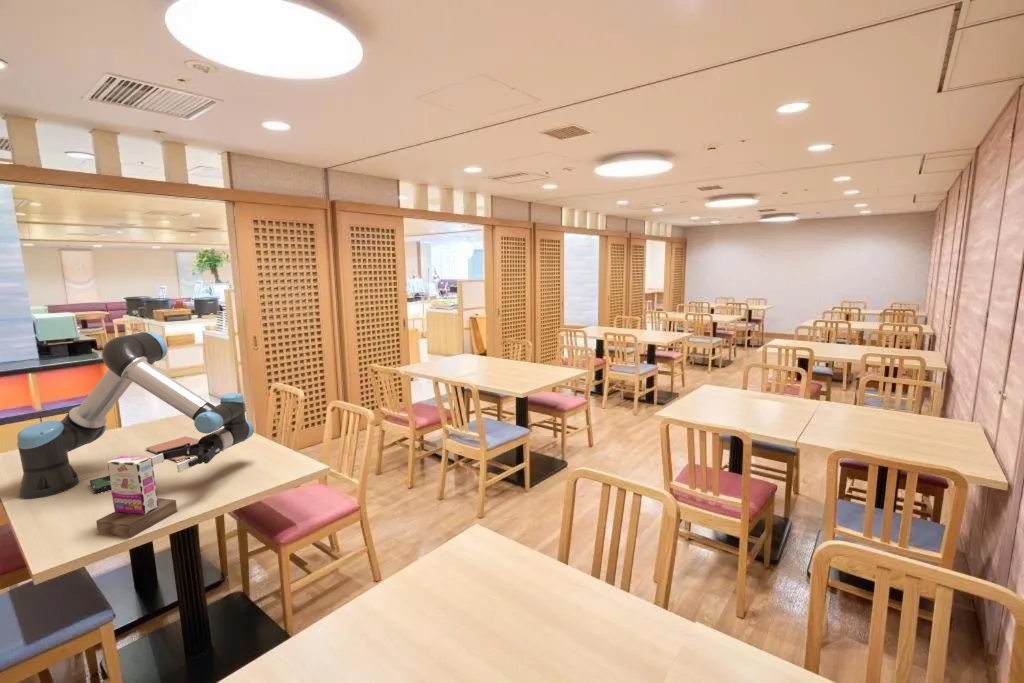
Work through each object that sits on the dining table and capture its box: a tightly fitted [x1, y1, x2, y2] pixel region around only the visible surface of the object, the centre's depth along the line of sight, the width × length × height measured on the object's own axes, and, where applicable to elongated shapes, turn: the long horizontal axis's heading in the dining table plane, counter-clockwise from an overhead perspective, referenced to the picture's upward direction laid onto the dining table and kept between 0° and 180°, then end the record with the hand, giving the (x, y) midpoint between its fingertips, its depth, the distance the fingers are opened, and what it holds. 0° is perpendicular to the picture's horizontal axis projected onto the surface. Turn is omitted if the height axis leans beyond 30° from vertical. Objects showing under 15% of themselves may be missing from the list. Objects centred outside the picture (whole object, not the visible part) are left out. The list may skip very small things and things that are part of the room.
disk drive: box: [89, 475, 112, 495], centre depth 171 cm, size 10×3×15 cm
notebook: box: [145, 436, 200, 462], centre depth 203 cm, size 27×17×2 cm, turn 60°
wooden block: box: [95, 497, 178, 538], centre depth 144 cm, size 12×15×4 cm
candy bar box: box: [106, 455, 158, 515], centre depth 143 cm, size 11×5×16 cm, turn 80°
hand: (160, 466), depth 151 cm, fingers open, 13 cm apart
